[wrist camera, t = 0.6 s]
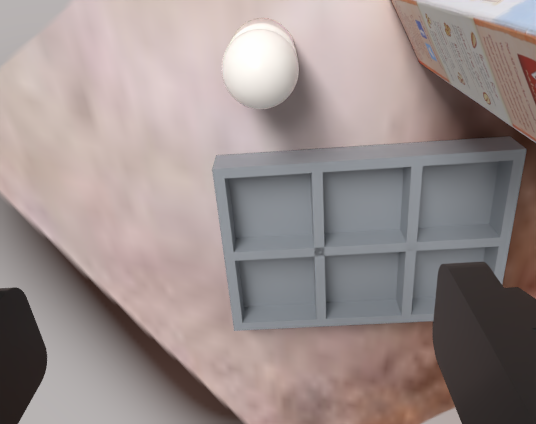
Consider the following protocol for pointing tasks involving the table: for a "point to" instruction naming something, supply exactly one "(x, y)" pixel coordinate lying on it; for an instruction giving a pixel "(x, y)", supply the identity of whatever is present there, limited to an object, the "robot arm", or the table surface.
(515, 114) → the cracker box
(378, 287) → the egg tray
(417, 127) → the table surface
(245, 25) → the egg
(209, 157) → the table surface
